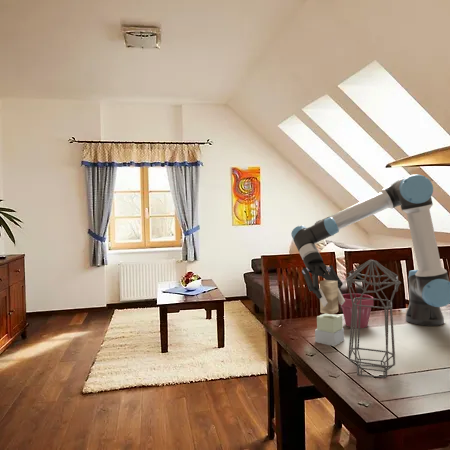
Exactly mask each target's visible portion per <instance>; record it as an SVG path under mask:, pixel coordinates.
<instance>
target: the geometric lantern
mask: <svg viewBox="0 0 450 450" xmlns="http://www.w3.org/2000/svg"><path fill="white" fill-rule="evenodd" d="M365 268H367V269H366V273H365V274H363V273H361V272H362V271H363V270H364V269H365ZM378 269H380V270H381V272H383V274H382V275H380V273H379V270H378ZM375 271H376V274H377V275H375ZM347 275H348V276H347V277H346V278H345V281H346V283H347V288H348V291H349V294H350V296H351V301H352V317H351V327H350V332H349V344H348V359H347V360H348V361H349V362H350V363H352V364H353V365H354V366H355V367H356V374H357V376H360V377H371V378H381V379H385V378H387V377H388V371H389V370H390V369H391V368H393V367H394V366H396V351H395V349H396V348H395V347H396V346H395V334H394V333H395V332H394V331H395V330H394V316H393V299H394V297H395V294H396V293H397V292H398V291H399V286H400V284H402V282H401V281H400V280H399V275H398V274H396V273H395V272H393V271H391V270H390V269H388V268H387V267H385V266H383V265H382V264H381V263H380V262H379V261H377V260H374V259H369V260H367V261H365V262H364V263H362V264H361V265H358V266H356V268H354V269H352V270H350V271H349V272H347ZM355 277H357V278H358V279H355ZM363 277H364V278H363ZM368 278H369V281H367V279H368ZM376 278H378V281H377V282H376ZM381 278H386V279H384V280H383V281H382V282H381ZM371 280H372V281H371ZM389 280H391V281H389ZM358 283H362V284H363V287H362V286H361V285H360V284H358ZM366 284H367V285H366ZM353 285H355V286H356V287H358V288H359V289H361V290H362V293H360V294H361V296H360V298H357V297H356V295H355V294H356V293H355V290H354V288H353ZM381 285H384V286H383V287H381ZM369 286H373V290H367V289H368V288H369ZM391 286H394V290H393V291H392V294H391V297H390V300H389V299H388V297H387V296H386V295H385V292H383V290H385V289H387V288H389V287H391ZM376 287H378V289H376ZM380 291H381V293H382V294H383V296H384V298H385V299H382V298H381V296H380V295H379V293H378V292H380ZM368 293H369V294H370V293H375V294H376V296H377V297H378V298H373V299H372V298H361V297H362V296H363V294H368ZM352 294H354V295H355V297H356V298H354V299H353V298H352ZM357 299H358V301H359V300H360V305H357V302H358V301H357V302H356V300H357ZM362 299H371V300H374V301H380V303H381V304H382V306H374V305H373V306H366V305H361V300H362ZM354 300H355V303H354ZM384 301H386V304H385V303H384ZM357 306H359V324H358V328H357ZM361 306H364V307H371V308H376V309H383V310H384V332H385V334H384V335H385V350H380V349H372V348H365V347H364V348H363V347H360V338H361V337H360V334H361V328H360V319H361ZM389 314H390V315H389ZM353 315H354V318H353ZM389 316H390V331H391V333H390V334H391V335H390V336H391V350H392V352H390V351H389ZM352 327H353V328H352ZM354 327H355V328H354ZM359 350H360V351H368V352H376V353H384V355H383V357H382V359H381V360H379V359H370V358H369V359H368V358H361V357H360V356H361V355H360V352H359ZM352 354H353V355H354V359H351V357H352ZM357 354H358V356H357ZM389 355H391V356H390V357H389ZM391 359H392V364H389V361H390V360H391ZM384 360H385V361H384ZM366 361H367V362H366ZM368 361H369V362H368ZM370 361H371V362H370ZM372 362H379V363H380V364H378V363H372ZM361 366H362V367H361ZM368 367H373V368H368ZM375 368H381V369H382V370H381V369H375ZM383 369H384V370H383ZM363 370H368V371H374V372H375V371H376V372H383V376H380V375H372V374H363Z"/></svg>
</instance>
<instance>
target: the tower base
mask: <svg viewBox="0 0 450 450" xmlns="http://www.w3.org/2000/svg"><path fill="white" fill-rule="evenodd" d="M344 329H345V328H344V327H343V329H341V330H339V331H337V332H335V333H331V332H327V331H322V330H317V328H316V329H314V337H315V339H314V340H315V343H319V344H322V345H326V346H332V347H336V346H338V345H339V344H341V343H342V341H343V342H344V341H345V330H344ZM340 342H341V343H340ZM337 344H338V345H337ZM335 345H336V346H335Z"/></svg>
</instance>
